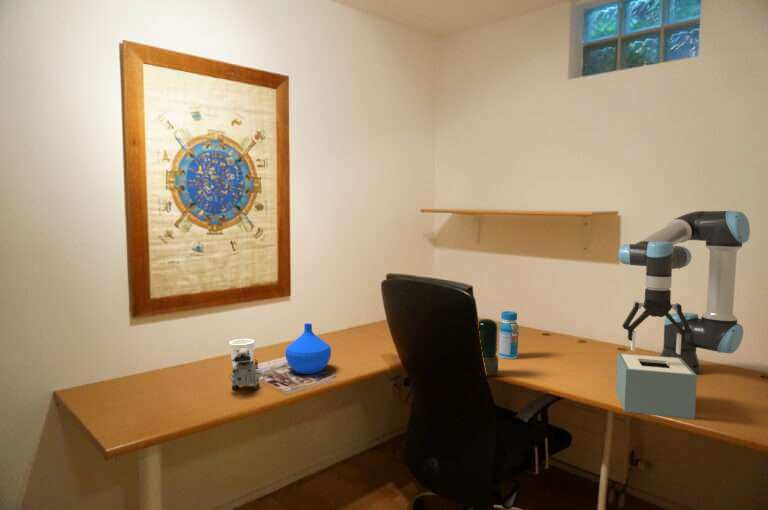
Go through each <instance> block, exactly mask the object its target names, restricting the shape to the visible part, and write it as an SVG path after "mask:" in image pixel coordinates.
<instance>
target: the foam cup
mask: <svg viewBox="0 0 768 510" xmlns="http://www.w3.org/2000/svg"><path fill="white" fill-rule="evenodd" d="M228 344H229V345H228V346H229V347H228V349H229V350H230V351H229V352H230V356H231V357H230V358H231V362H232V363H231V364H232V368H233V367H234V366H235V365H236V363H235V361H232V360H233V359H234V357H235V355H236V354H237V352H238V351H239V350H240V348H248V349H249V350H250V352H251V353H252V357H251V361H253V360H254V359H253V358H254V349H255V340H254V339H250V338H240V339H239V338H238V339H233V340H230V341H229V342H228ZM236 350H238V351H236Z"/></svg>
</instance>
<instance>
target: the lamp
mask: <svg viewBox="0 0 768 510" xmlns="http://www.w3.org/2000/svg"><path fill="white" fill-rule="evenodd" d="M477 322H479V331H480V340H481V347H482V352H483V358H484V363H485V368H486V372H487V375H488V376H487V377H493V376H495V375H497V374H498V372H499V357H498V355H497V353H498V332H499V331H498V330H499V329H498V324H497V322H496V321H495V320H493V319H491V318H482V319H478V321H477Z"/></svg>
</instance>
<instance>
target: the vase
mask: <svg viewBox="0 0 768 510" xmlns="http://www.w3.org/2000/svg"><path fill="white" fill-rule="evenodd" d="M312 324H313V323H309V322H308V323H307V322H306V323H304V327H303V328H304V330H303V332H302V334H301V335H300V336H298V337H297V338H296V339H295V340H294V341H292V342H291V343H290V344H288V345H287V347H286V349H285V353H284V354H285V355H284V356H285V359H286V361H287V363H288V364H287V365H289V366H290V368H291V370H292V371H294V372H296V373H298V374H299V375H300V374H302V375H313V374H317V373H320V372H322V371H323V370H324V369H325V367H326V366H327V365H328V363H329V362H330V359H331V356H332V347H331V346H330V344H328V343H327V342H325V341H324V340H323V339H321V338H320V337H318V336H317V334H315V333H314V332H313V327H312Z"/></svg>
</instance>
